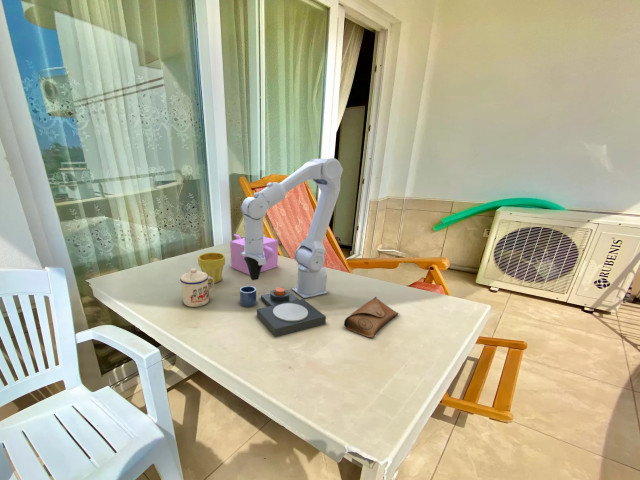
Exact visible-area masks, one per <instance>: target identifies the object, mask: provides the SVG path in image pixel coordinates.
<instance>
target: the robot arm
mask: <svg viewBox="0 0 640 480" xmlns="http://www.w3.org/2000/svg"><path fill="white" fill-rule="evenodd" d="M343 171H344V169H343V166H342V165H341V163H340V161H339V160H338V159H336V158H335V157H331V158H319V157H315V158H312V159H310V160H309V161H306V162H305V163H304V164H303V165H301V167H299V168H298V169H297V170H295V171H294V172H293V173H291V174H289V176H287V177H286V178H284V179H283V180H282V181H281V182H276V181H274V182H268V183H267V184H266V187H264V188H263V189H262V190H260V191H258V192H257V191H256V192H254V193H253V196H248V197H246V198H245V199H244V200H243V201H242V203H241V205H240V211H241V213H242V215H243V230H244V236H243V237H244V238H245V246H244V252H241V255H242V256H248V257H245V258H244V260H245V261H246V263H247V266H248V269H249V273H250V275H249V277H250V279H251V281H257V280H259V278H260V274H261V272H260V271H261V268H262V265H265V264H266V258H265V257H264V251H263V236H264V217H265V216H266V215H267V212H268V211H269V210H270V209H272V208H273V207H275V206H276V205H278V204H279V203H280V202H281V201H283V200H284V199H285V198H286V195H287V193H288V192H289V191H291V190H293V189H294V188H296V187H298V186H300V185H302V184H303V183H305V182H306V181H308V180H312V181H313V182H314V183H315V184H316V185H317V187H318V188H319V190H320V194H319V197H318V200H317V204H316V206H315V210H314V213H313V216H312V219H311V222H310V226H309V229H308V231H307V235H306V238H304V239H303V240H301V241H300V243H299V246H298V247H297V248H296V250H295V251H294V255H293V257H294V261H295V262H296V263H297V281H296V283H297V284H296V285H297V286H295V287H292V291H293V292H295V293H296V294H297V295H299V297H301V298H302V299H306V298H312V297H317V296H321V295H327V294H328V291H327V281H328V273H327V270H326V268H325V267H324V265H325V261H326V252H327V250H326V247H325V246H324V240H325V237H326V234H327V231H328V228H329V225H330V222H331V219H332V216H333V213H334V210H335V208H336V207H335V206H336V203H337V201H338V198H339V194H340V192H341V177H342V176H343V175H342V174H343Z"/></svg>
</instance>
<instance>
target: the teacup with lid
mask: <svg viewBox="0 0 640 480" xmlns="http://www.w3.org/2000/svg"><path fill="white" fill-rule="evenodd" d="M208 279H211V283H210V284H209V283H208ZM179 281H180V283H181V284H180V285H181V293H182V301H183V304H184V305H185V306H187V307H190V308H198V307H202V306H204V305H207V304H208V303H209V301H210V291H211V290H212V289H213V288H214V286H215V283H214V279H213V278H212V277H208V275H207V274H206V273H204V272H202V271H200V270H197V268H195V267H194V268H193V267H192V268H191V269H190V271H188V272H186V273H183V274H182V275H180V279H179Z"/></svg>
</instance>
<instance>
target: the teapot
mask: <svg viewBox="0 0 640 480" xmlns="http://www.w3.org/2000/svg"><path fill="white" fill-rule="evenodd" d="M233 236H234V237H235V238H236V239H233V240H230V241H229V244H230V245H229V246H230V265H231V268H232V269H234V270H236V271H239V272H241V273H244V274H246V275H248V276H250V273H249V269H248V266H247V263H246V261H245V260H244V258H245V257H248V256H242V255H241V252H244V246H245V237H241V235H239V234H237V233H234V234H233ZM263 251H264V257H265V258H266V264H265V265H262V268H261V271H260V273H263V272H265V271H268V270H271V269H274V268H277V267H279V265H278V263H279V259H278V257H279V241H278V239H276V238H275V239H274V238H270V237H267V236H265V235H263Z"/></svg>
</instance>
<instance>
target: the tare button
mask: <svg viewBox="0 0 640 480" xmlns="http://www.w3.org/2000/svg"><path fill="white" fill-rule="evenodd" d="M274 290H275V295H285V290H286V289H285V288H284V287H276V288H275V289H274Z"/></svg>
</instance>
